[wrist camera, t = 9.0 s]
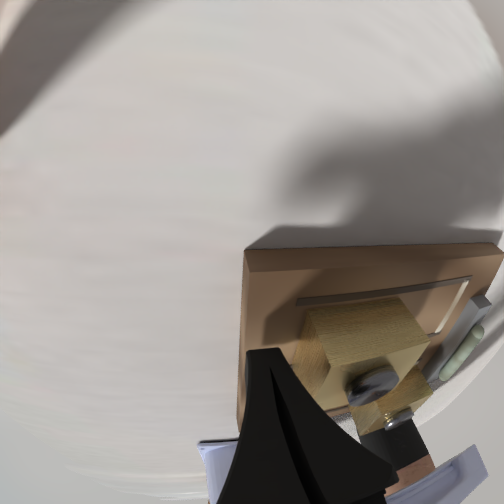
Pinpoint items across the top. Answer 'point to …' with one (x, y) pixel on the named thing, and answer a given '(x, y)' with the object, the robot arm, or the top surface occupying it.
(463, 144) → the top surface
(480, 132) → the top surface
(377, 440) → the travel mug
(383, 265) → the base
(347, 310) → the slide
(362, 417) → the slide
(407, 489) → the robot arm
